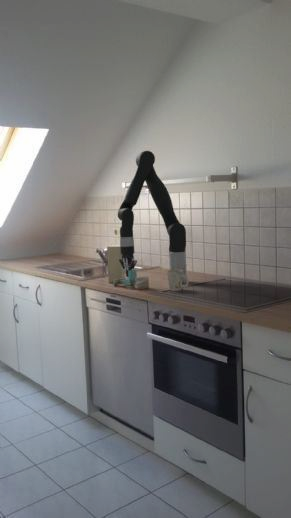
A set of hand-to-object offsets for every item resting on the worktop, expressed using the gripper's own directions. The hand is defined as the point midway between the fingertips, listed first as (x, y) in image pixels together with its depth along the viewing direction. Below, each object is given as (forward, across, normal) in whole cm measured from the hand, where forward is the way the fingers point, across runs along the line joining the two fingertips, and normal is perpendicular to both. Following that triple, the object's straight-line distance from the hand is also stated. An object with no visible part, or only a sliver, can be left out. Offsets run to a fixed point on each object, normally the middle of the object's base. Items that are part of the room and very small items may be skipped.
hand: (128, 276), depth 278 cm
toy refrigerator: (+6, +18, -6) cm, 20 cm away
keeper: (+4, -1, 0) cm, 4 cm away
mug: (+6, -30, -8) cm, 32 cm away
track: (+6, -2, 0) cm, 6 cm away
